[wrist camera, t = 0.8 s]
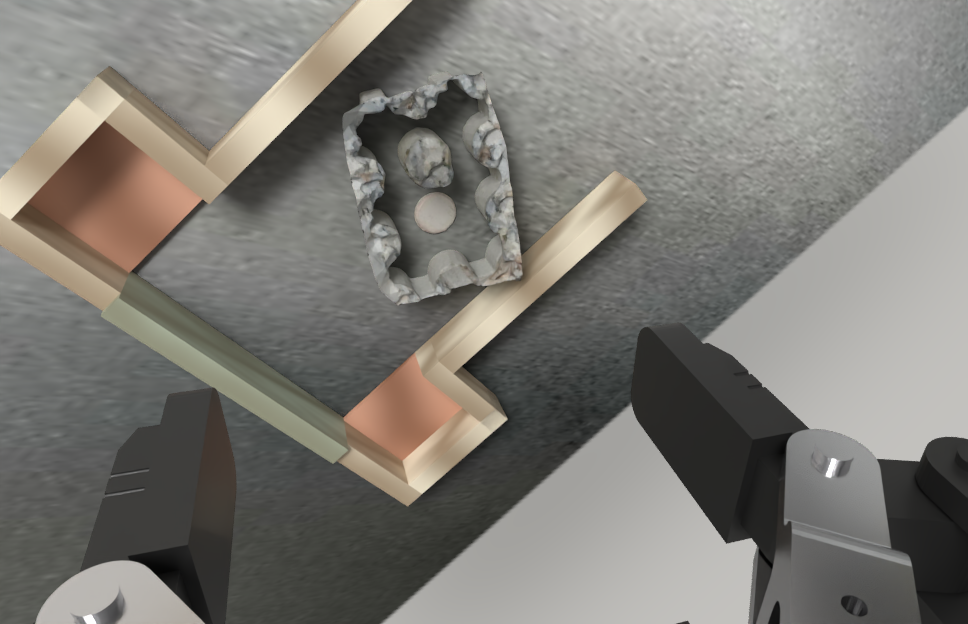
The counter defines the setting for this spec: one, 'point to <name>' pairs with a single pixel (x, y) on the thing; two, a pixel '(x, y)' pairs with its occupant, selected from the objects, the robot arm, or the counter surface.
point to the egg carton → (435, 210)
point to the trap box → (204, 175)
